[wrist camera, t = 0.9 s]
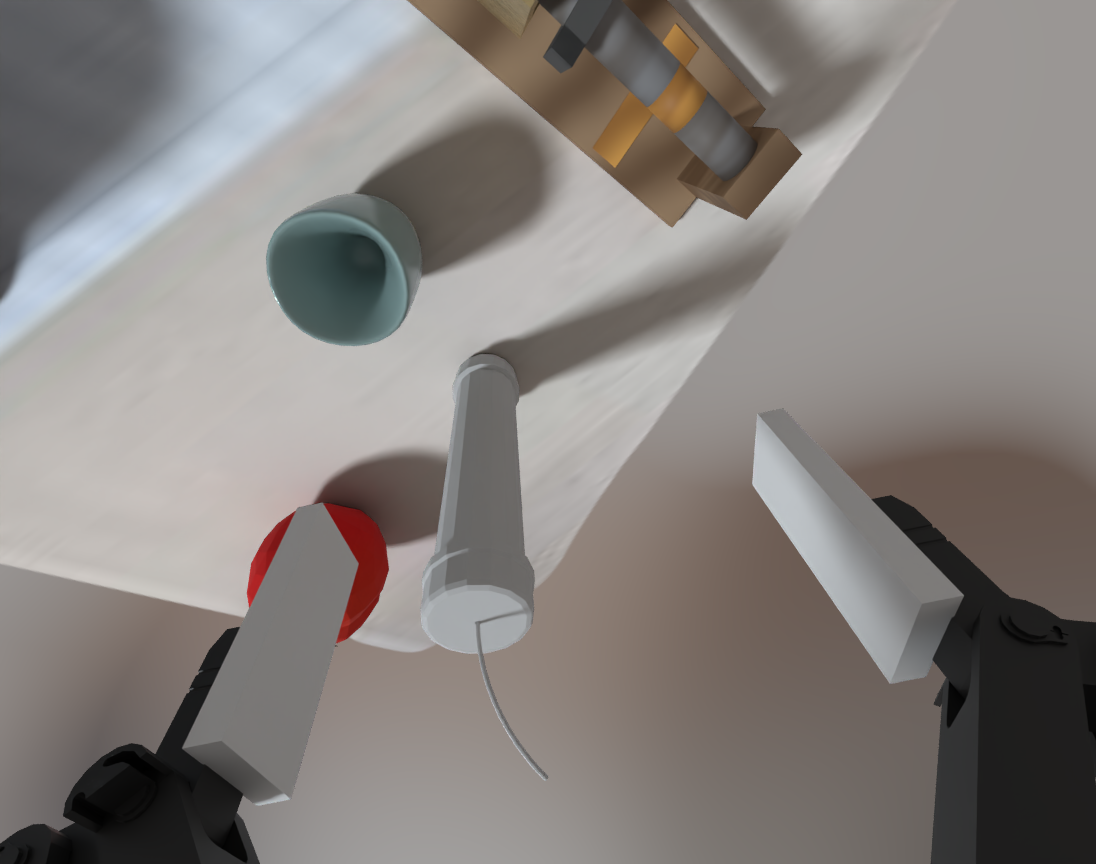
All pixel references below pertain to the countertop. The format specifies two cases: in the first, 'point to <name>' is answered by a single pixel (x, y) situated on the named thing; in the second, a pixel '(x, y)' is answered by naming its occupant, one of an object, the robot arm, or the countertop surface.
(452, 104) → the countertop surface
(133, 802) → the robot arm
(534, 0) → the sleeve
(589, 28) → the dark grey square ring
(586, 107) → the rail
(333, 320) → the cup
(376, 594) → the tomato
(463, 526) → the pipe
